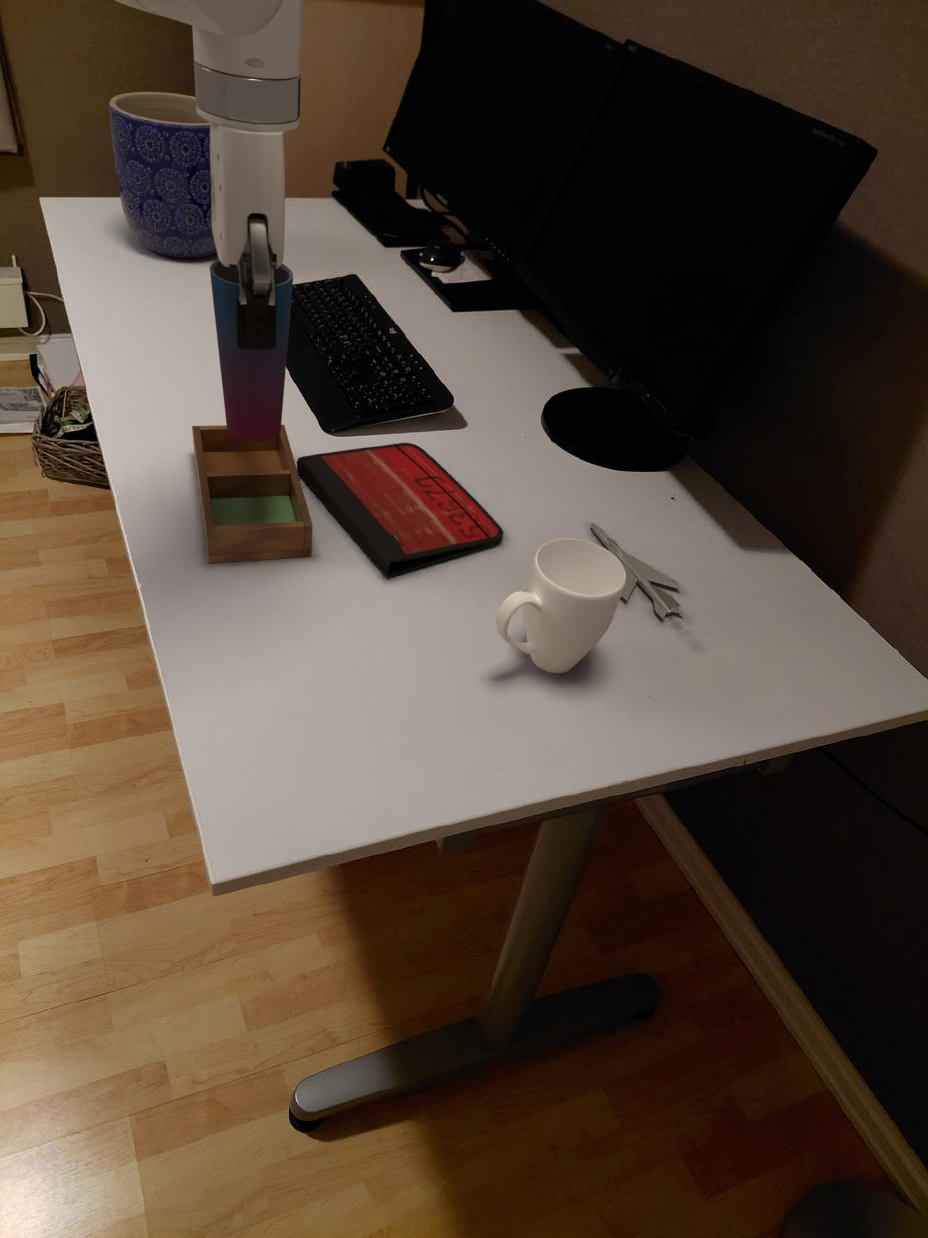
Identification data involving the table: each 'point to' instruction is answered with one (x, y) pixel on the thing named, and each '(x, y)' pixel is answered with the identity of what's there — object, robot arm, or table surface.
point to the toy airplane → (642, 577)
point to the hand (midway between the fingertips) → (251, 328)
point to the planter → (164, 171)
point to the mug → (565, 602)
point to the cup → (251, 357)
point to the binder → (399, 505)
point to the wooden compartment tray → (250, 497)
